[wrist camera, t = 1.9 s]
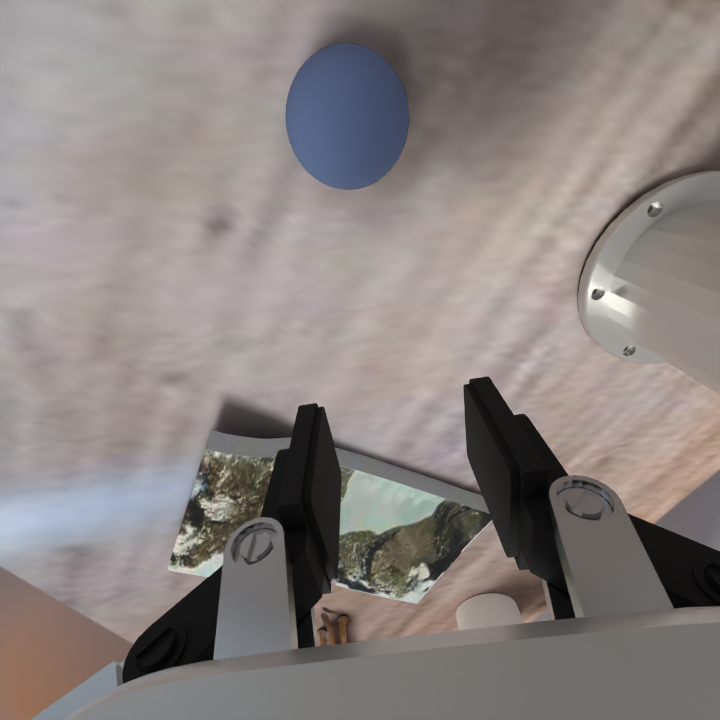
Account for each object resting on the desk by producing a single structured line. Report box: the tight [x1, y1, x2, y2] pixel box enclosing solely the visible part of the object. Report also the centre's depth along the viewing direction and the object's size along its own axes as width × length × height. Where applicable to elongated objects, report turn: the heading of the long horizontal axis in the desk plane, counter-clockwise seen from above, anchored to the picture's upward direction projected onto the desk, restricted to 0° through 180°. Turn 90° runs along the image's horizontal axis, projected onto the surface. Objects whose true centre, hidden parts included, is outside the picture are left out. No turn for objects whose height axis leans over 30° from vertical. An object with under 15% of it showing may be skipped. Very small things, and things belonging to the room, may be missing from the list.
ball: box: [286, 43, 409, 190], centre depth 18 cm, size 6×6×6 cm
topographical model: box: [167, 430, 492, 604], centre depth 34 cm, size 26×15×5 cm, turn 66°
